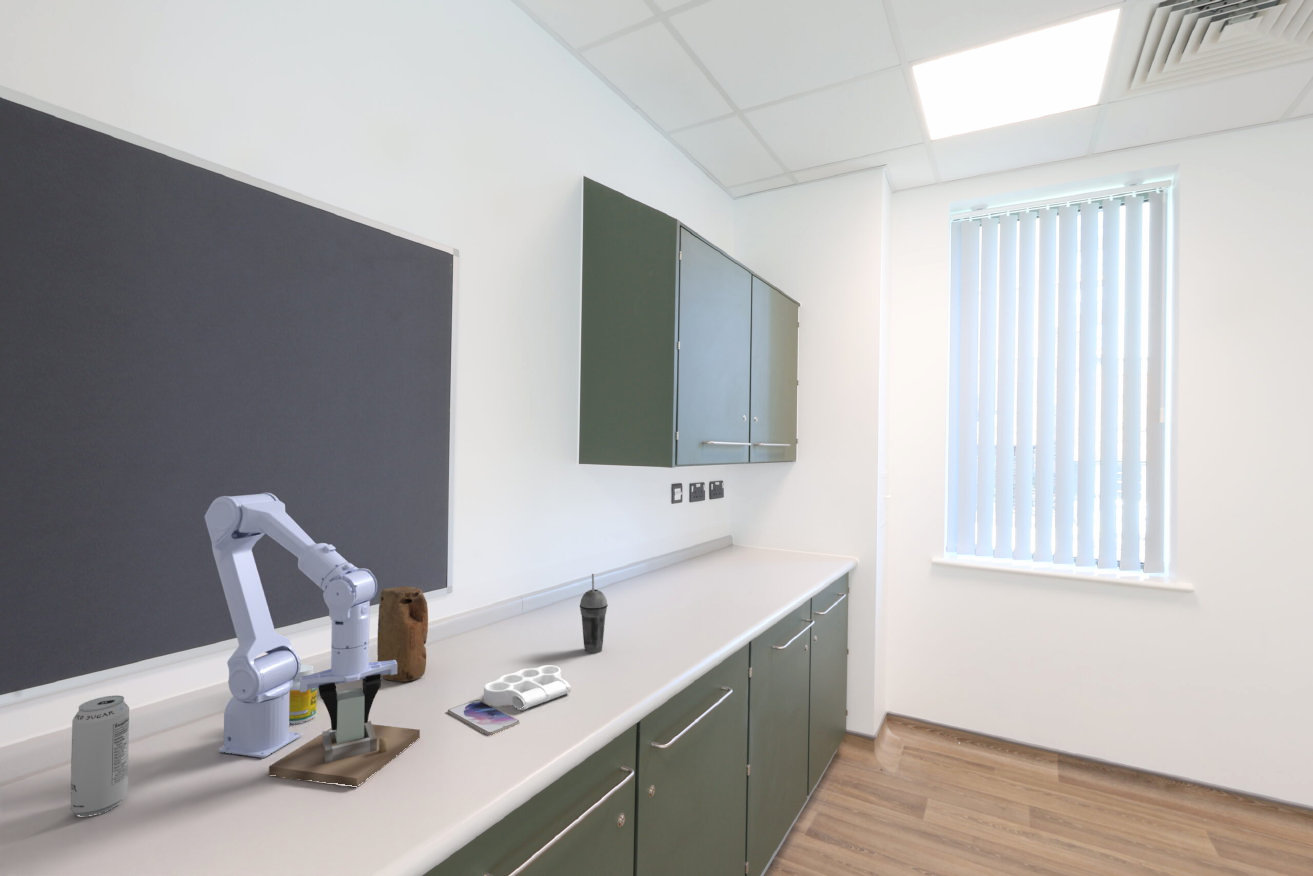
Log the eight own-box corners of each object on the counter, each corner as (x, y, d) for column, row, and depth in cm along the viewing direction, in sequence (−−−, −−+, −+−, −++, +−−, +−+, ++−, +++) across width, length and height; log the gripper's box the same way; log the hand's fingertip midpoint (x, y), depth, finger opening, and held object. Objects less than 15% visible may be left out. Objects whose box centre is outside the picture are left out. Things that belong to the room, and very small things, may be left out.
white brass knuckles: (510, 720, 114) (471, 698, 124) (582, 692, 127) (542, 674, 137) (510, 702, 114) (472, 681, 124) (582, 677, 127) (542, 660, 137)
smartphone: (477, 699, 122) (521, 721, 112) (477, 703, 122) (521, 725, 112) (445, 709, 116) (489, 733, 106) (445, 714, 116) (488, 738, 106)
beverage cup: (609, 646, 156) (610, 570, 156) (604, 655, 148) (605, 576, 149) (582, 645, 156) (583, 569, 157) (576, 654, 149) (576, 575, 149)
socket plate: (268, 775, 93) (269, 753, 93) (342, 729, 109) (342, 710, 109) (356, 788, 90) (357, 765, 90) (419, 738, 106) (419, 718, 106)
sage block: (337, 744, 97) (337, 701, 97) (335, 734, 100) (335, 692, 100) (364, 737, 99) (364, 695, 99) (361, 728, 102) (361, 687, 102)
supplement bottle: (286, 715, 115) (287, 665, 115) (317, 710, 117) (318, 661, 117) (282, 727, 110) (282, 675, 110) (315, 721, 112) (315, 671, 112)
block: (373, 676, 134) (375, 588, 135) (403, 666, 141) (404, 582, 141) (403, 687, 128) (404, 595, 129) (432, 675, 135) (433, 588, 135)
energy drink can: (82, 800, 87) (84, 697, 87) (134, 791, 89) (136, 691, 89) (61, 824, 81) (63, 714, 81) (117, 813, 84) (119, 707, 84)
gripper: (301, 658, 93) (300, 746, 92) (400, 642, 100) (399, 722, 100) (300, 646, 99) (298, 728, 98) (393, 631, 106) (392, 707, 106)
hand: (349, 724), depth 100 cm, fingers closed on sage block, 4 cm apart
